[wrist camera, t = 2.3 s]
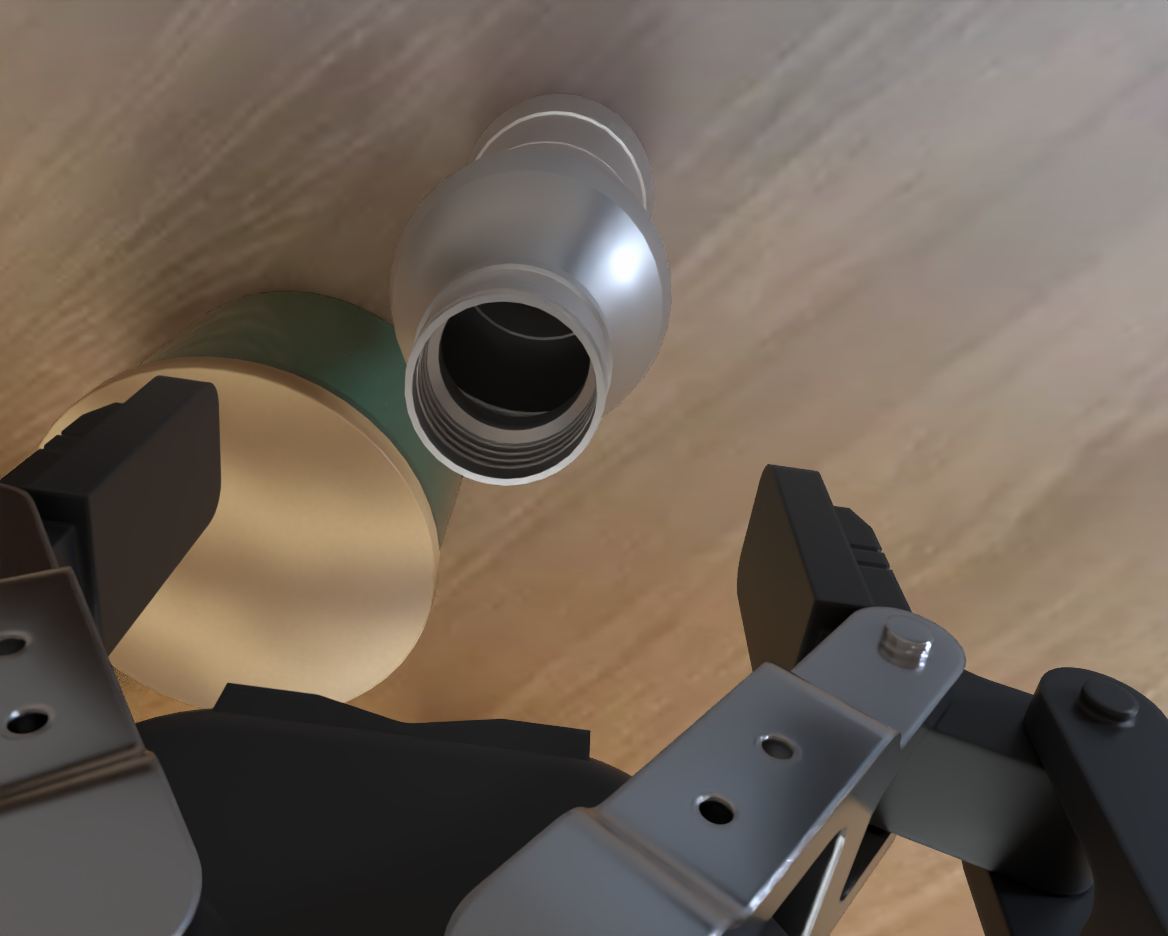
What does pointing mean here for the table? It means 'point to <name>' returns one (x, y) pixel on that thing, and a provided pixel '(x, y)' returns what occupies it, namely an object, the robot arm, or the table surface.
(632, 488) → the table surface
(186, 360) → the crock
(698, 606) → the table surface
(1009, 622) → the table surface
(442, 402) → the silver metal bottle
